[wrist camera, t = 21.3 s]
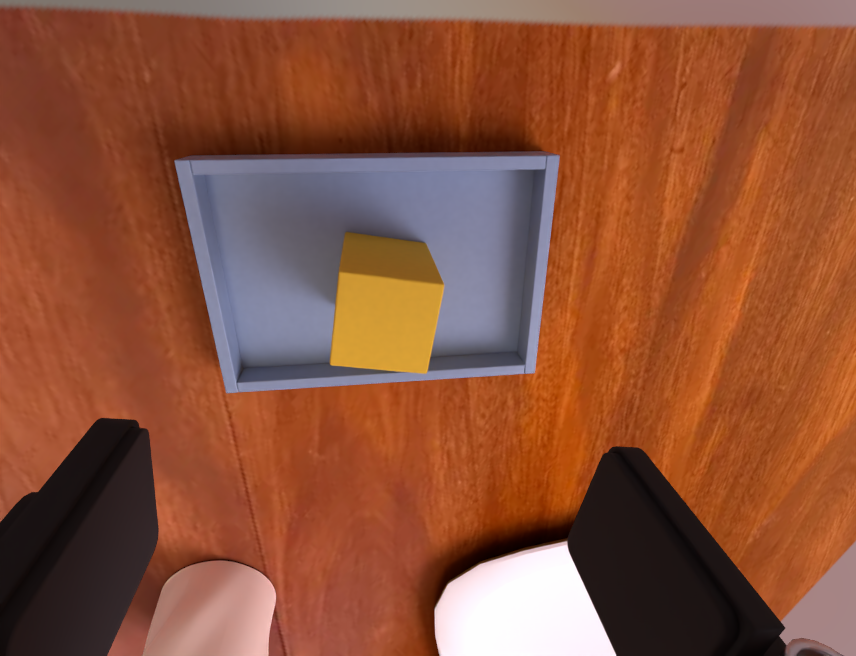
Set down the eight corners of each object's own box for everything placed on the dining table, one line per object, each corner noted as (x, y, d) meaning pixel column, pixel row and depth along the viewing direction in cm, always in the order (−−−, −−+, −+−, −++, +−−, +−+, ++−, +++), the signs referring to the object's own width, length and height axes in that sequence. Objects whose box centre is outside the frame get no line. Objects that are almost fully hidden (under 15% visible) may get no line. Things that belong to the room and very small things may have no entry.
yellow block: (337, 307, 24) (329, 365, 18) (345, 231, 22) (338, 271, 17) (413, 316, 25) (427, 374, 19) (426, 242, 23) (445, 284, 18)
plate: (680, 660, 44) (691, 680, 42) (454, 711, 43) (458, 733, 41) (706, 493, 34) (723, 511, 33) (416, 554, 33) (419, 576, 32)
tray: (236, 373, 25) (226, 393, 24) (190, 155, 20) (173, 160, 19) (523, 355, 27) (534, 373, 25) (544, 151, 22) (560, 155, 20)
